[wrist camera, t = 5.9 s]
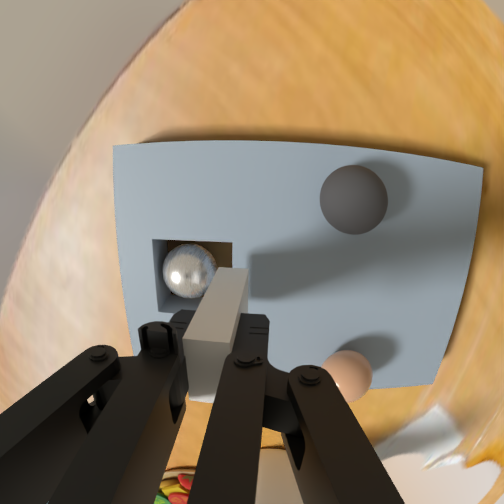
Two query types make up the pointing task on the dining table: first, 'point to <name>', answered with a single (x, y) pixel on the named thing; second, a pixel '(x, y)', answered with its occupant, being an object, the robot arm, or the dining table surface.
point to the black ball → (353, 199)
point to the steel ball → (189, 270)
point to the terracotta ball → (350, 373)
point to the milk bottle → (276, 479)
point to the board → (305, 246)
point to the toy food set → (175, 486)
